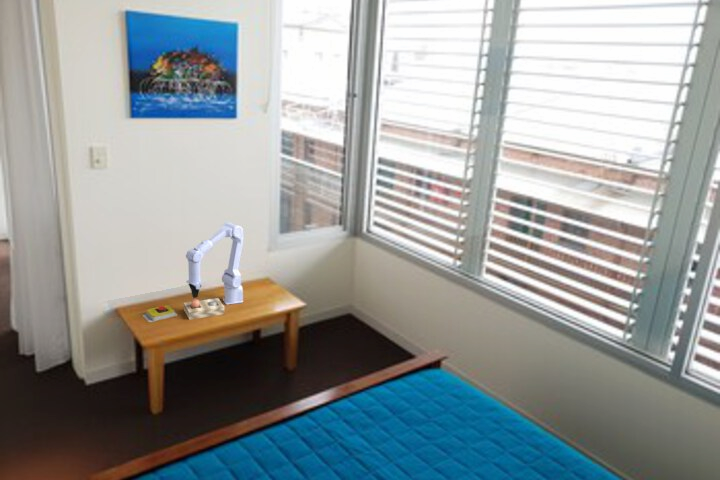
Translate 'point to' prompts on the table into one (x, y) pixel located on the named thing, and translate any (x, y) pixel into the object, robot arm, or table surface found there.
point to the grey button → (212, 303)
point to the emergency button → (159, 313)
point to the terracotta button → (194, 304)
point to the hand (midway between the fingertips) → (195, 297)
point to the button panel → (204, 309)
